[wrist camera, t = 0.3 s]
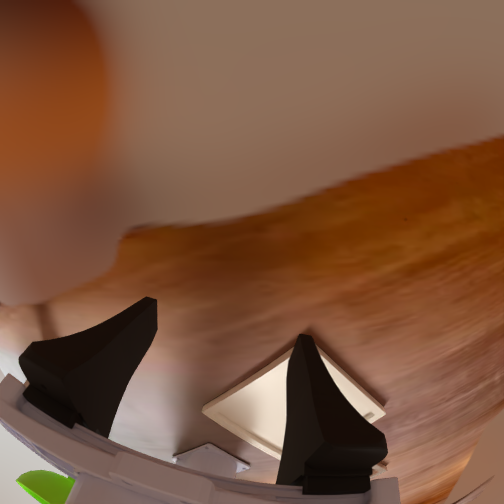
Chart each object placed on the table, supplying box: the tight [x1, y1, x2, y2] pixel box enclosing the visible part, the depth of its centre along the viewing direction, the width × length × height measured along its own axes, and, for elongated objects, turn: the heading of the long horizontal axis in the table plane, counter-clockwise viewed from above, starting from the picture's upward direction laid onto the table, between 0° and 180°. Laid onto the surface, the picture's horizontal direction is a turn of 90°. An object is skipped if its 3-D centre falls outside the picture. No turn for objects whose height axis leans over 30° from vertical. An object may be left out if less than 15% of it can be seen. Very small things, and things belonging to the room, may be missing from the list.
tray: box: [202, 344, 386, 460], centre depth 27 cm, size 15×15×1 cm
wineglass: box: [16, 470, 76, 504], centre depth 28 cm, size 16×16×18 cm
